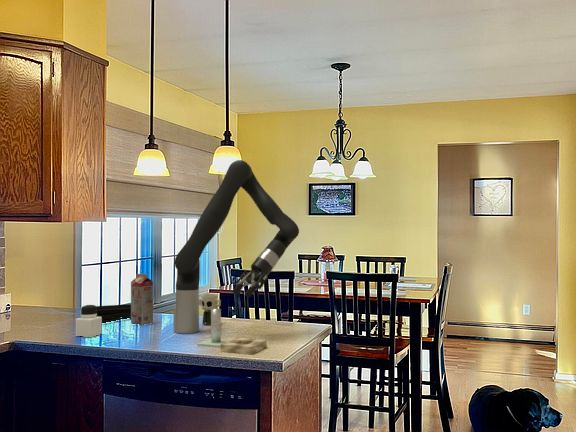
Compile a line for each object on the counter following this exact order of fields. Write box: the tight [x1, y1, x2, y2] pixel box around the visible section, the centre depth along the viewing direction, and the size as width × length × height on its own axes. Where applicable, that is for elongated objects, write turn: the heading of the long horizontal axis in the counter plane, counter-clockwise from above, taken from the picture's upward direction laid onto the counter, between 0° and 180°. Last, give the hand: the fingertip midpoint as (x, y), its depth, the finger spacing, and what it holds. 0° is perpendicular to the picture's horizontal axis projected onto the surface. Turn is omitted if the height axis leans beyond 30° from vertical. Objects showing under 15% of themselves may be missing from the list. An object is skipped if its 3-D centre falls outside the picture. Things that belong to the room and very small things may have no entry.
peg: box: [210, 307, 222, 343], centre depth 212 cm, size 4×4×12 cm
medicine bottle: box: [75, 304, 103, 338], centre depth 228 cm, size 7×7×12 cm
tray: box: [96, 303, 131, 323], centre depth 267 cm, size 30×23×5 cm
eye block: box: [220, 337, 268, 355], centre depth 202 cm, size 12×12×2 cm
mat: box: [196, 337, 231, 348], centre depth 212 cm, size 10×10×1 cm
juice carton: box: [130, 273, 154, 325], centre depth 253 cm, size 7×7×22 cm
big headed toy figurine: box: [199, 293, 222, 325], centre depth 252 cm, size 11×7×13 cm, turn 66°
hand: (240, 294), depth 219 cm, fingers open, 8 cm apart
